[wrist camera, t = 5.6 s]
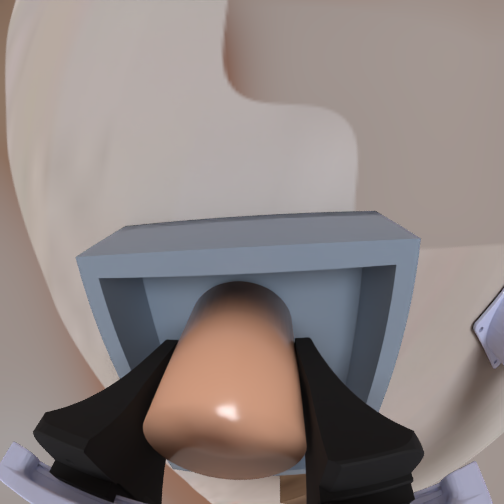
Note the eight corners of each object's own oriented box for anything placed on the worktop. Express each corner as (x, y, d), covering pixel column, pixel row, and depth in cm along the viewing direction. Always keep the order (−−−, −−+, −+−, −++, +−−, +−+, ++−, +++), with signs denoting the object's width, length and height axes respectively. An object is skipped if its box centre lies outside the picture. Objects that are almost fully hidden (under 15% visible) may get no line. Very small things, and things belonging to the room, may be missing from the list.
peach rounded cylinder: (313, 327, 13) (338, 448, 7) (243, 377, 15) (230, 487, 8) (239, 259, 12) (209, 372, 6) (172, 323, 14) (118, 431, 7)
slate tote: (125, 226, 15) (75, 256, 10) (375, 210, 14) (420, 238, 9) (185, 424, 21) (173, 468, 16) (343, 421, 20) (353, 467, 15)
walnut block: (343, 459, 23) (349, 495, 18) (309, 474, 24) (312, 508, 20) (315, 449, 22) (319, 490, 17) (280, 465, 23) (280, 502, 19)
